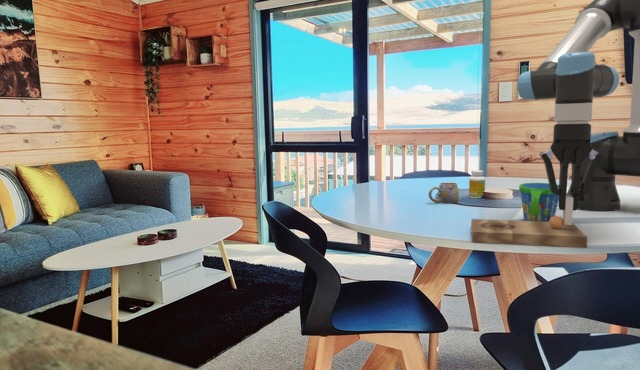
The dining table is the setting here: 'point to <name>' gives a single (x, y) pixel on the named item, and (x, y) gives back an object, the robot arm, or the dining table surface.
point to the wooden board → (526, 233)
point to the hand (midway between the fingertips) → (567, 223)
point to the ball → (556, 222)
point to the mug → (446, 193)
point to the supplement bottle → (476, 184)
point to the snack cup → (538, 201)
